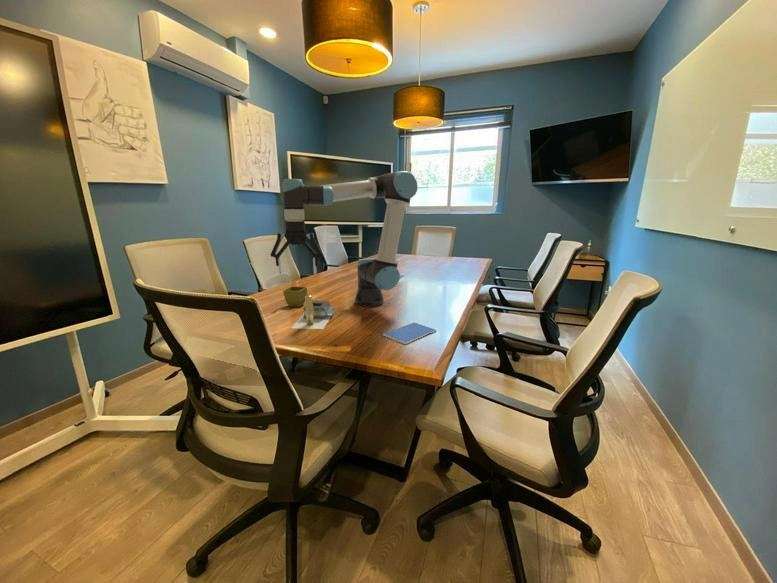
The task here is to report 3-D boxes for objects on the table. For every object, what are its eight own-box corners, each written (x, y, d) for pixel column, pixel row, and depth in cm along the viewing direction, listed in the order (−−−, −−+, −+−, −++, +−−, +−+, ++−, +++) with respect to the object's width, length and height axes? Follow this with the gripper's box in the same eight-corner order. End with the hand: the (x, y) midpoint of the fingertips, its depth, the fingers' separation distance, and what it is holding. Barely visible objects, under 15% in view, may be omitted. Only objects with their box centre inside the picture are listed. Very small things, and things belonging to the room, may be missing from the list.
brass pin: (314, 322, 134) (313, 295, 131) (313, 325, 131) (311, 297, 128) (307, 322, 134) (306, 295, 131) (305, 325, 131) (303, 297, 128)
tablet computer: (413, 324, 139) (414, 321, 139) (437, 332, 130) (437, 329, 130) (381, 336, 126) (381, 333, 125) (405, 346, 117) (405, 343, 117)
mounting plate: (334, 314, 149) (334, 311, 149) (323, 332, 128) (323, 329, 128) (306, 313, 150) (306, 310, 149) (291, 331, 129) (290, 328, 128)
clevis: (336, 311, 149) (335, 301, 148) (331, 319, 139) (331, 308, 137) (310, 310, 149) (310, 300, 148) (304, 318, 139) (303, 307, 138)
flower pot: (283, 307, 159) (282, 290, 156) (293, 302, 167) (291, 285, 164) (300, 309, 157) (298, 291, 154) (308, 304, 165) (307, 287, 162)
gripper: (328, 220, 130) (330, 271, 136) (265, 220, 129) (269, 272, 134) (325, 221, 123) (328, 275, 129) (259, 220, 121) (264, 275, 127)
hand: (298, 273), depth 131 cm, fingers open, 13 cm apart
